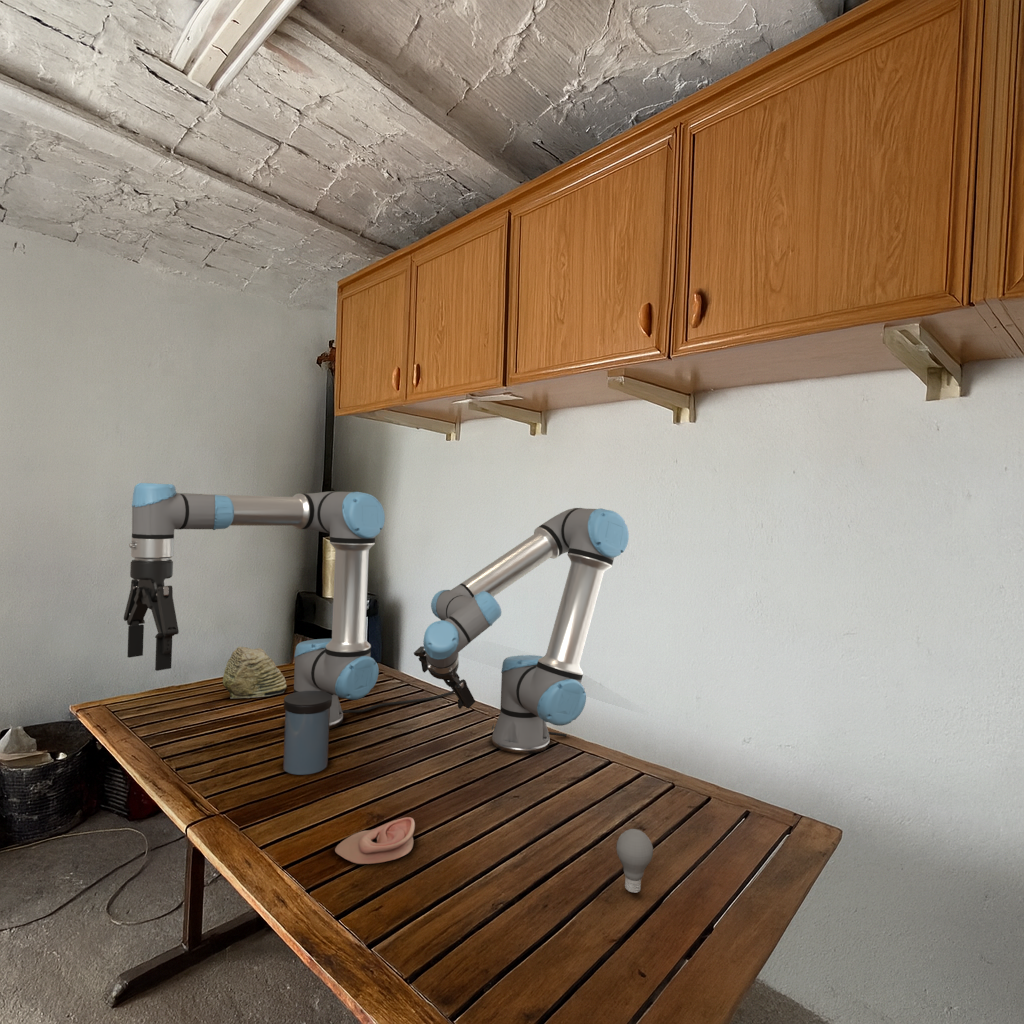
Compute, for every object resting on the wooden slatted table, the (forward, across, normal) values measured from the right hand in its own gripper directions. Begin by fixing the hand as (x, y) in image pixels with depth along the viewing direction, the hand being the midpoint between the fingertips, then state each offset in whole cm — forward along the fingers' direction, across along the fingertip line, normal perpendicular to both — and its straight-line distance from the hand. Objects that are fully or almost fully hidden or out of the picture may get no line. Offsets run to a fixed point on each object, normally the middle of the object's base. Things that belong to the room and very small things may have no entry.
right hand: (444, 686), depth 167 cm
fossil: (+36, -49, -37) cm, 71 cm away
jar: (-6, -8, -37) cm, 38 cm away
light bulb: (-45, +58, -10) cm, 74 cm away
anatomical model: (-35, +21, -36) cm, 55 cm away
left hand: (-36, -38, -46) cm, 70 cm away
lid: (-15, -17, -27) cm, 35 cm away
